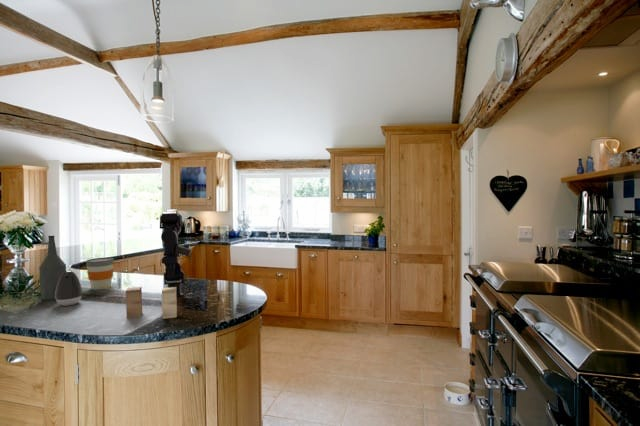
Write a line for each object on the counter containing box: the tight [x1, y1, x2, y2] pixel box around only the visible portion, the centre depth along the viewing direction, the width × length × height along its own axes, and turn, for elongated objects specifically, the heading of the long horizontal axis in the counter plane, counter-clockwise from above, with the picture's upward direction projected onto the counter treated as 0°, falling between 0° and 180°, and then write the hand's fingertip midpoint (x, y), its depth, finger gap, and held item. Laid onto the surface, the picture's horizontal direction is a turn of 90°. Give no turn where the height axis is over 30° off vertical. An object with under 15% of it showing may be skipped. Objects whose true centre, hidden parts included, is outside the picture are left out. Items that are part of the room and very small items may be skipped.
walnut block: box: [125, 286, 143, 319], centre depth 145 cm, size 5×5×11 cm
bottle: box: [38, 235, 67, 301], centre depth 172 cm, size 10×10×30 cm
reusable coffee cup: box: [86, 257, 115, 290], centre depth 190 cm, size 13×13×15 cm
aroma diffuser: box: [54, 270, 84, 307], centre depth 161 cm, size 10×10×15 cm
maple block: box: [161, 287, 178, 320], centre depth 144 cm, size 5×5×11 cm
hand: (171, 275), depth 158 cm, fingers closed
